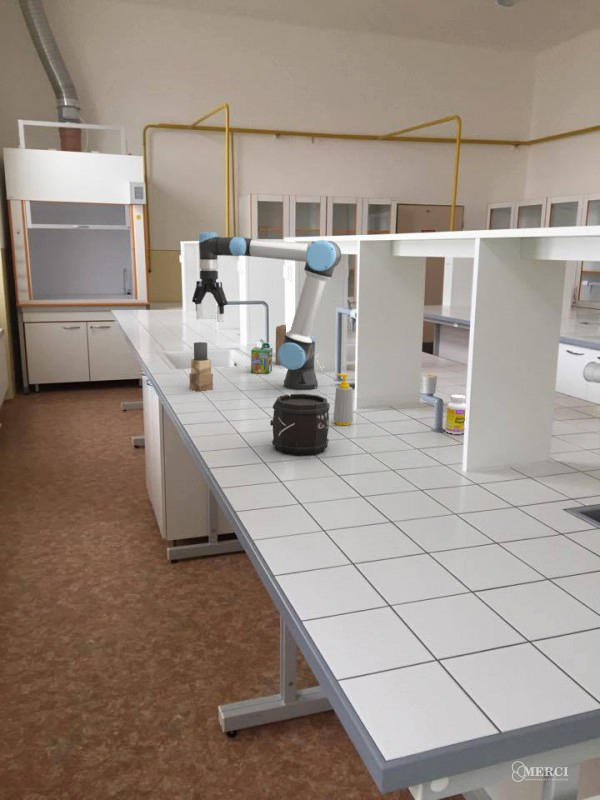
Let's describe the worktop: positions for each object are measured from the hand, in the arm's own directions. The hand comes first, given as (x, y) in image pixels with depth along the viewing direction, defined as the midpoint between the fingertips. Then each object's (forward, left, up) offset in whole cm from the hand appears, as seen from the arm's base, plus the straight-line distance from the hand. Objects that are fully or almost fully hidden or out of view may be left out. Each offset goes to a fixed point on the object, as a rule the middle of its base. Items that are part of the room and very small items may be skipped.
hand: (209, 320), depth 289 cm
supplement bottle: (-112, -19, -29) cm, 117 cm away
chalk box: (+11, -40, -29) cm, 51 cm away
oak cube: (-3, +7, -22) cm, 23 cm away
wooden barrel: (-90, +35, -29) cm, 101 cm away
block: (+20, -66, -29) cm, 75 cm away
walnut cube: (-3, +7, -29) cm, 30 cm away
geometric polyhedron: (-5, -59, -29) cm, 66 cm away
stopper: (-3, +7, -16) cm, 17 cm away
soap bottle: (-79, +2, -29) cm, 84 cm away
